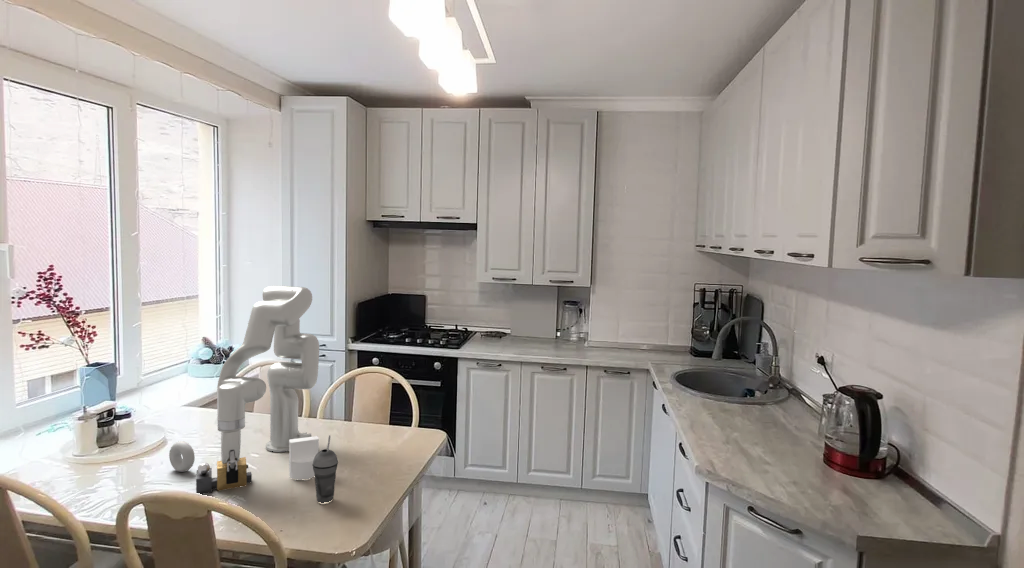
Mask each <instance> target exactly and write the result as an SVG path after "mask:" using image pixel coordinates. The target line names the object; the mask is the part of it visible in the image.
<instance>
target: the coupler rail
mask: <svg viewBox="0 0 1024 568" xmlns="http://www.w3.org/2000/svg"><path fill="white" fill-rule="evenodd" d="M212 468H213V467H211V466H210V463H207V462H202V463H200V464H199V465H198V467H197V469H196V474H195V476H196V477H195V486H196V487H195V490H196V493H200V494H202V495H206V494H212V492H213V491H212V490H217V476H216V477H213V475H212V474H213V473H212V472H213V470H212ZM252 475H253V474H252V472H251V471H248V472H247V484H251V483H250V482H252V478H253V476H252Z"/></svg>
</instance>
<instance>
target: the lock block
mask: <svg viewBox="0 0 1024 568" xmlns="http://www.w3.org/2000/svg"><path fill="white" fill-rule="evenodd" d="M235 460H236V459H235ZM228 461H230V460H228ZM229 465H230V464H229ZM237 469H238V482H237V483H232V484H226V471H227V463H224V464H222V460H217V461H216V475H217V476H216V477H217V489H216V490H217V491H218V492H219V491H224V490H225V489H226V490H231V489H236V488H235V487H237V488H241V487H240V486H243V487H246V486H245V485H247V484H248V483H247V469H249V464H247V457H246V456H243V457H240V459H239V461H238V462H237ZM230 488H231V489H230Z"/></svg>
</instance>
